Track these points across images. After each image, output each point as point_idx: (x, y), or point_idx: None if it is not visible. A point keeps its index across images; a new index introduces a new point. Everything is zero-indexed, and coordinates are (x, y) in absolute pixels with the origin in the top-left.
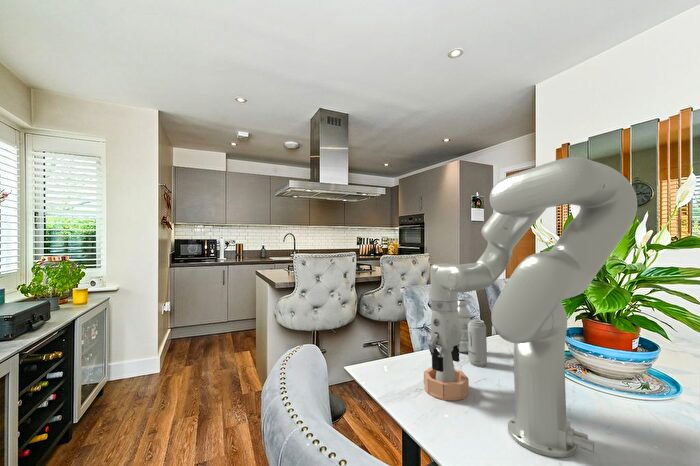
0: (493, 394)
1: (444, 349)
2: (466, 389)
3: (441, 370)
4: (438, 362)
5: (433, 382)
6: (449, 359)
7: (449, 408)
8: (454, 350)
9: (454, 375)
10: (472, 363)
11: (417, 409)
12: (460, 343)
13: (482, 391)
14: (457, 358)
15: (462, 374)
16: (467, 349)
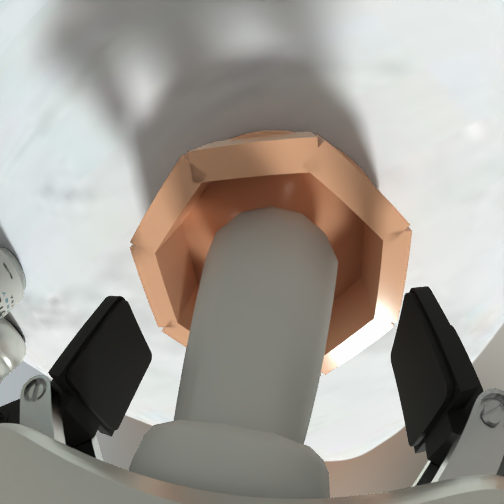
0: (121, 73)
1: (321, 481)
2: (239, 139)
3: (429, 298)
4: (469, 360)
5: (401, 287)
6: (271, 351)
7: (423, 141)
8: (94, 384)
9: (255, 234)
10: (21, 280)
11: (494, 238)
12: (5, 351)
13: (134, 118)
14: (113, 317)
15: (161, 219)
16: (2, 325)
